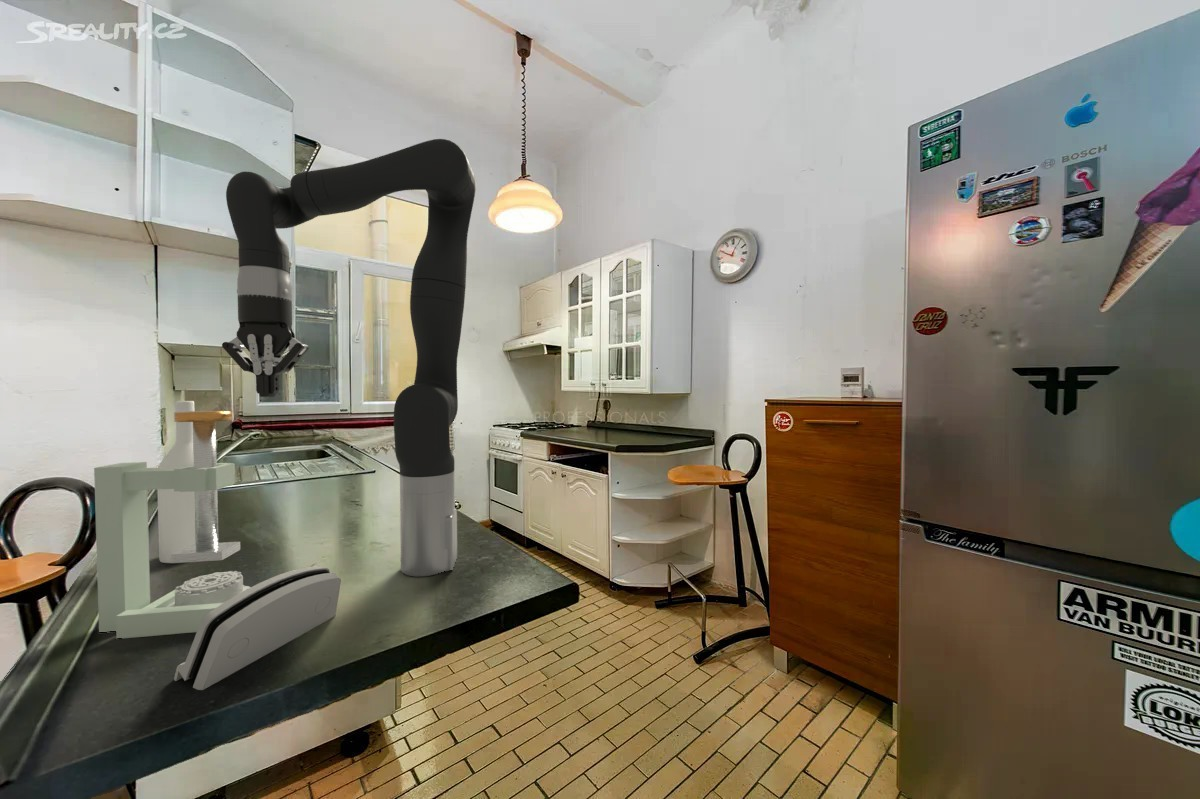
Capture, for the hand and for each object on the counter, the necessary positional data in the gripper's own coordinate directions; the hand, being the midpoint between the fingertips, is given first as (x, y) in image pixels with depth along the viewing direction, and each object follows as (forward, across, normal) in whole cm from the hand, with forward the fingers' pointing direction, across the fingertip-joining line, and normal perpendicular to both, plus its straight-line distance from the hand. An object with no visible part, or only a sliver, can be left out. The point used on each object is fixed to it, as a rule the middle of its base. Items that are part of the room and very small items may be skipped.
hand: (267, 396), depth 77 cm
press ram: (+22, 0, +16) cm, 27 cm away
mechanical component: (+31, +2, +13) cm, 34 cm away
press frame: (+31, +2, +13) cm, 34 cm away
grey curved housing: (+31, -13, +25) cm, 42 cm away
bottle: (+31, +20, -11) cm, 39 cm away
